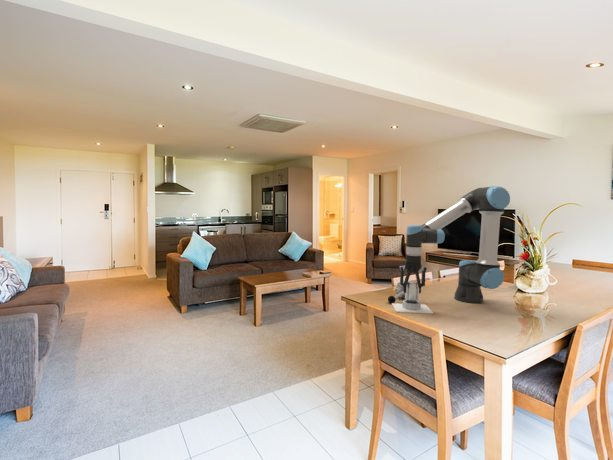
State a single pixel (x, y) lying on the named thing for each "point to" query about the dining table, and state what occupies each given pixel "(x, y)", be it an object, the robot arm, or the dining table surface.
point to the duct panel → (411, 307)
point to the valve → (399, 293)
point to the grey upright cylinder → (412, 292)
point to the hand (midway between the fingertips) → (411, 298)
